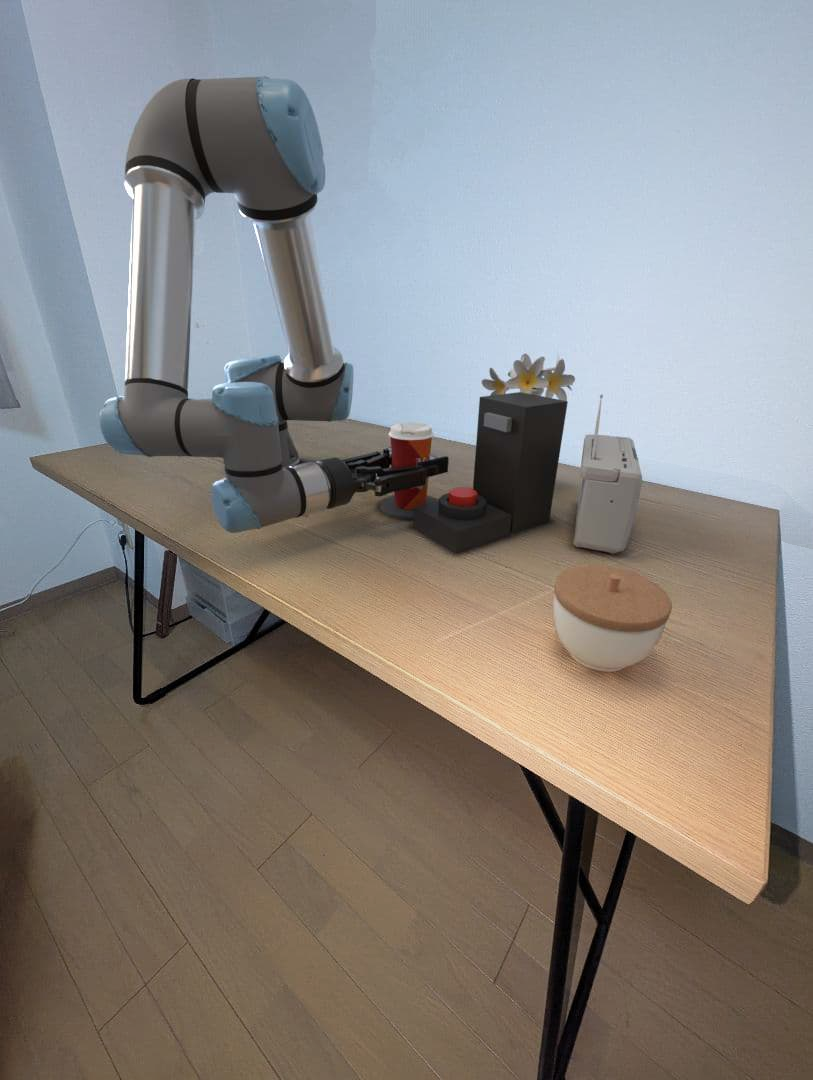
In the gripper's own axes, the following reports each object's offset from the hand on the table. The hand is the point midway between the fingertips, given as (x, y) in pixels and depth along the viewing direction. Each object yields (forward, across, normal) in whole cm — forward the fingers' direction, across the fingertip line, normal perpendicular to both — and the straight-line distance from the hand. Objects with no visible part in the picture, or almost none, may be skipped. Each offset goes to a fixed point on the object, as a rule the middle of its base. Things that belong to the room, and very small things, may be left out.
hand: (433, 459), depth 85 cm
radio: (+14, +26, -8) cm, 30 cm away
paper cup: (-5, 0, -8) cm, 9 cm away
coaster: (-5, 0, -8) cm, 9 cm away
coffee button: (-5, +13, -3) cm, 14 cm away
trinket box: (-15, +43, -8) cm, 46 cm away
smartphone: (+15, -24, -8) cm, 30 cm away
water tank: (+6, +14, -8) cm, 17 cm away
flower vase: (+21, +4, -8) cm, 23 cm away
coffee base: (-5, +13, -8) cm, 16 cm away
